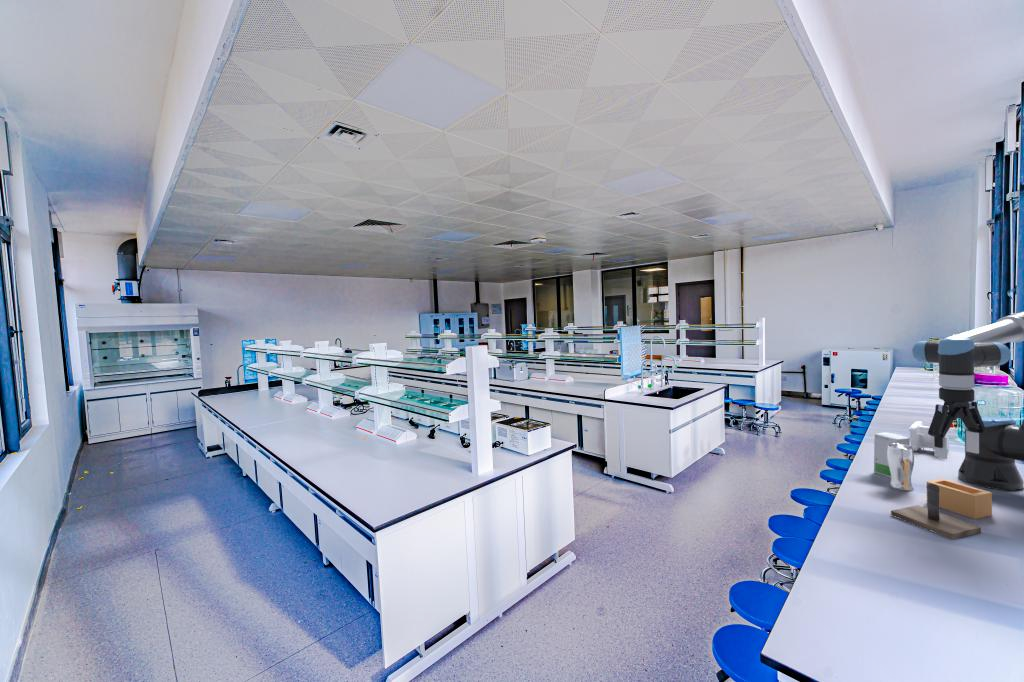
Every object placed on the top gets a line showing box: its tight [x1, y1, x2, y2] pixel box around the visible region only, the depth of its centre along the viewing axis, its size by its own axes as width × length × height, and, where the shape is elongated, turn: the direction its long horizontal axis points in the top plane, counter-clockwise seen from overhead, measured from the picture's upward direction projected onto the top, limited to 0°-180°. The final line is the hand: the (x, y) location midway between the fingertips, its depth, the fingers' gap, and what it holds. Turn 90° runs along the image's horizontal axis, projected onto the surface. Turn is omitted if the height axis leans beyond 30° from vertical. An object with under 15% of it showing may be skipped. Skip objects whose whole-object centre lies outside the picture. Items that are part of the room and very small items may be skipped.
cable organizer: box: [908, 420, 950, 452], centre depth 180 cm, size 15×11×12 cm
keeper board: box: [890, 483, 982, 540], centre depth 121 cm, size 11×15×12 cm
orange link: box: [926, 478, 993, 520], centre depth 129 cm, size 12×7×7 cm, turn 13°
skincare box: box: [873, 431, 910, 479], centre depth 157 cm, size 8×7×16 cm
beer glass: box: [887, 443, 915, 492], centre depth 146 cm, size 7×7×15 cm
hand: (956, 455), depth 129 cm, fingers open, 13 cm apart
